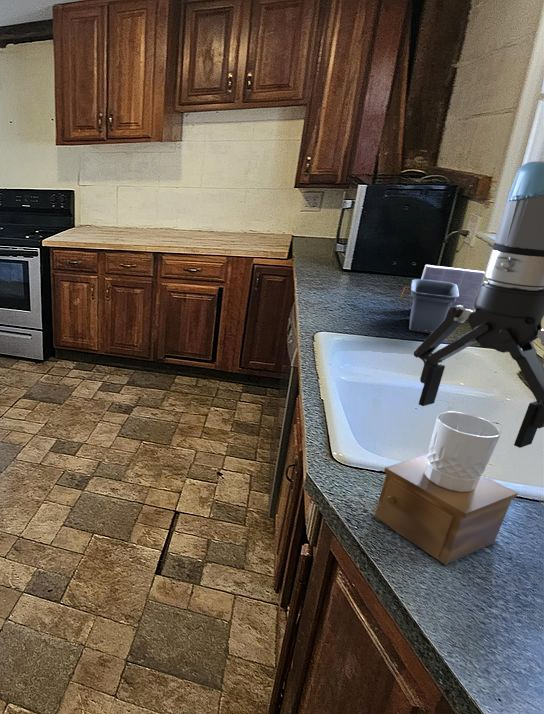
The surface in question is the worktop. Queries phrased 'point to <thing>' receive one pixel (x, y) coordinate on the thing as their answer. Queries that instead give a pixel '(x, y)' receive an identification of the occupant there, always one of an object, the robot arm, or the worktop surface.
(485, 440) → the white cup
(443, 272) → the cake pan box
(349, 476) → the worktop surface
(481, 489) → the cupboard
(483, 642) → the worktop surface
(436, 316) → the storage bin
